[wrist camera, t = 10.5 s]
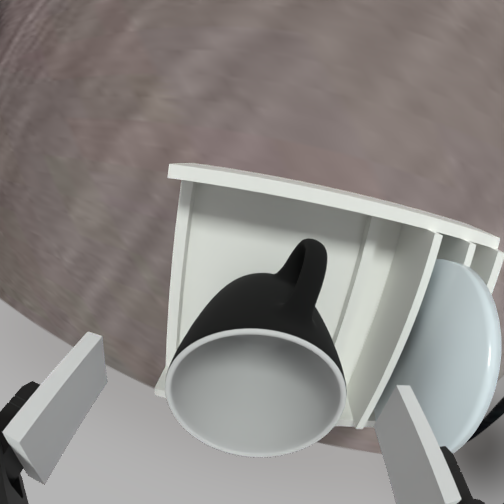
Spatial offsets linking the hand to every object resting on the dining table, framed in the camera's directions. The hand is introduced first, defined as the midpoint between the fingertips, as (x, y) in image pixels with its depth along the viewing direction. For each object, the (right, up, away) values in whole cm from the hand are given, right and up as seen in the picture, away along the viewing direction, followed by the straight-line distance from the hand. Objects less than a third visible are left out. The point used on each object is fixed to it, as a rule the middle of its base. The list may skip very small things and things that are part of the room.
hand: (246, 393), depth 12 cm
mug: (+2, +3, +11) cm, 11 cm away
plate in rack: (+12, +1, +11) cm, 16 cm away
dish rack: (+5, +2, +12) cm, 13 cm away
